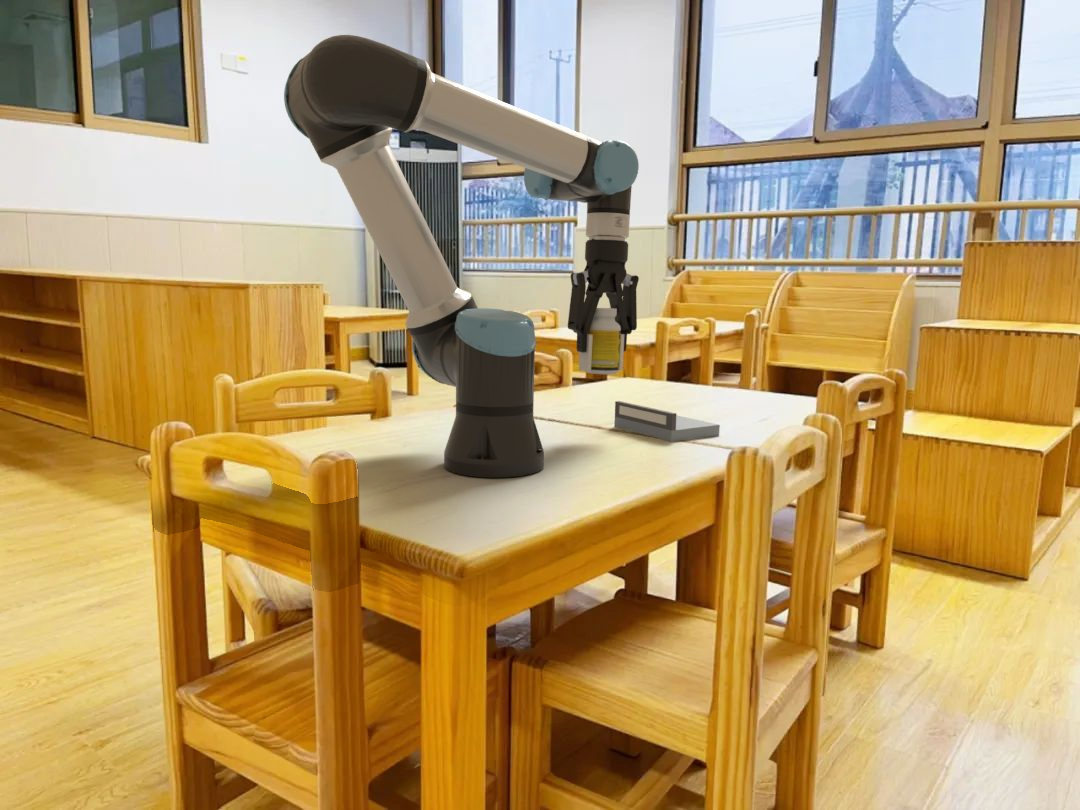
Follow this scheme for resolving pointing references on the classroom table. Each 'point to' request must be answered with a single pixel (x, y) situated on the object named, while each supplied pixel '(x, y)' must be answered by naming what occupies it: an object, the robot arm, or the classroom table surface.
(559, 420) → the classroom table surface
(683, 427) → the grey piece
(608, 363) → the pill bottle
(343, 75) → the robot arm
